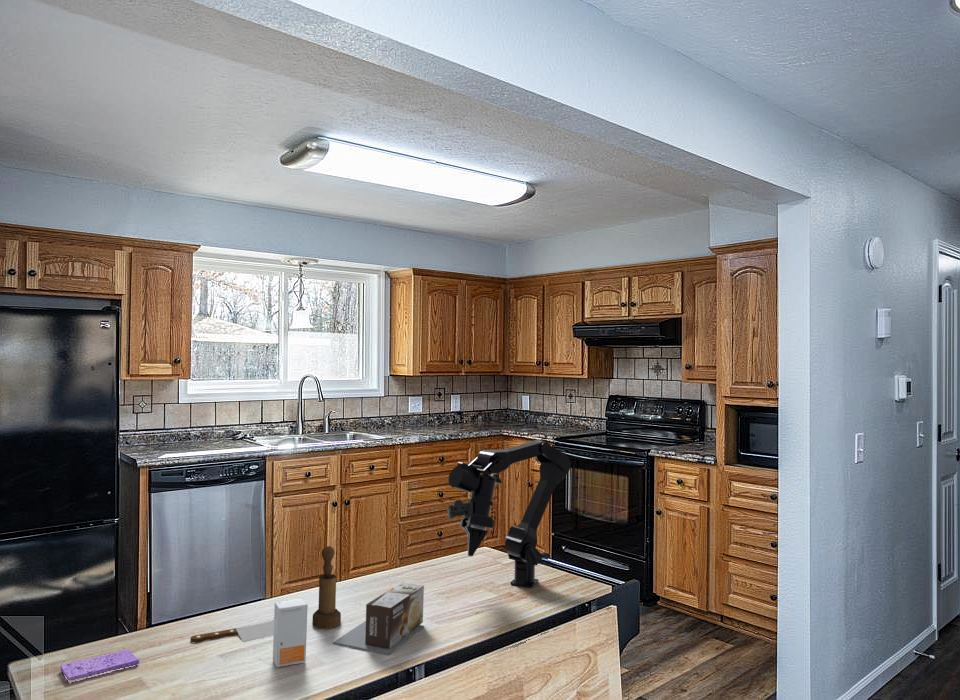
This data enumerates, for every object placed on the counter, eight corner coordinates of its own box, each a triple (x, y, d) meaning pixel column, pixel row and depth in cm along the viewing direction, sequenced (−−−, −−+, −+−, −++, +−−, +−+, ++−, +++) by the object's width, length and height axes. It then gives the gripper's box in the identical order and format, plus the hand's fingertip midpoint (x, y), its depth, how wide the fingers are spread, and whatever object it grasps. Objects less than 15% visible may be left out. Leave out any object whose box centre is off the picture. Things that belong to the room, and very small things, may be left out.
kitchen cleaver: (196, 651, 143) (188, 632, 151) (196, 656, 143) (188, 636, 151) (309, 630, 155) (297, 613, 164) (309, 634, 155) (296, 618, 164)
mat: (372, 618, 164) (372, 616, 164) (424, 627, 158) (424, 625, 158) (332, 643, 148) (333, 641, 148) (388, 655, 143) (388, 653, 143)
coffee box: (400, 581, 162) (365, 602, 147) (424, 584, 160) (391, 606, 145) (399, 620, 162) (364, 644, 147) (423, 624, 160) (390, 649, 145)
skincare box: (276, 668, 136) (277, 608, 136) (272, 660, 140) (273, 601, 140) (306, 662, 139) (308, 604, 139) (302, 654, 143) (303, 597, 143)
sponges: (60, 674, 133) (60, 664, 133) (129, 656, 142) (129, 647, 142) (68, 687, 128) (68, 677, 128) (139, 667, 137) (139, 658, 137)
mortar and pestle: (346, 621, 161) (347, 545, 162) (329, 631, 155) (331, 552, 156) (323, 616, 164) (325, 542, 164) (306, 625, 158) (308, 548, 159)
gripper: (448, 493, 190) (436, 550, 184) (457, 486, 172) (444, 549, 167) (486, 501, 191) (475, 558, 186) (499, 496, 173) (487, 558, 168)
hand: (470, 556), depth 176 cm, fingers closed
